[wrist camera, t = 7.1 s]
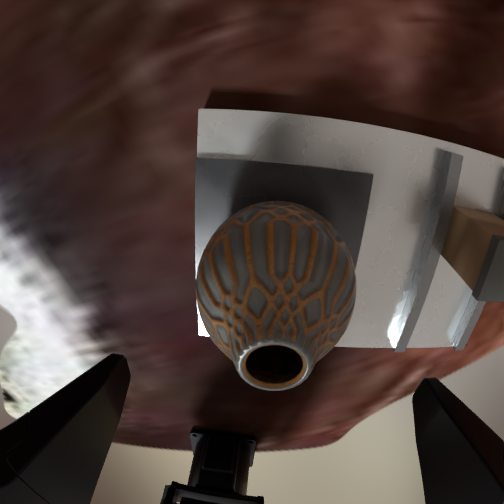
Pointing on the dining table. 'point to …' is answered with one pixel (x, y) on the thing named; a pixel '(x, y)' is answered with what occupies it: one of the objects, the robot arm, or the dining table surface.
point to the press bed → (358, 210)
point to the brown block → (477, 251)
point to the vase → (275, 291)
